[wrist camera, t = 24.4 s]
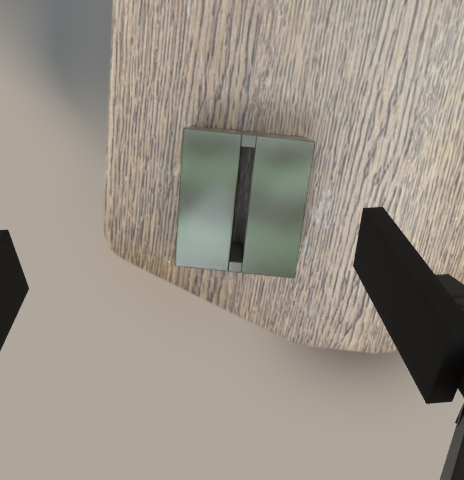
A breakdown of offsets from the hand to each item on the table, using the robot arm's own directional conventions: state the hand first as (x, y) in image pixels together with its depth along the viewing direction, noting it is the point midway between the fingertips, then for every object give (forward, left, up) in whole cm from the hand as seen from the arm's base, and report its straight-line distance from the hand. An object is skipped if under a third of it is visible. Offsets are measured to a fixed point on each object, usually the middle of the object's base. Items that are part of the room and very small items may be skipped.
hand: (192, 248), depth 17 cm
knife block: (+3, +1, -27) cm, 27 cm away
